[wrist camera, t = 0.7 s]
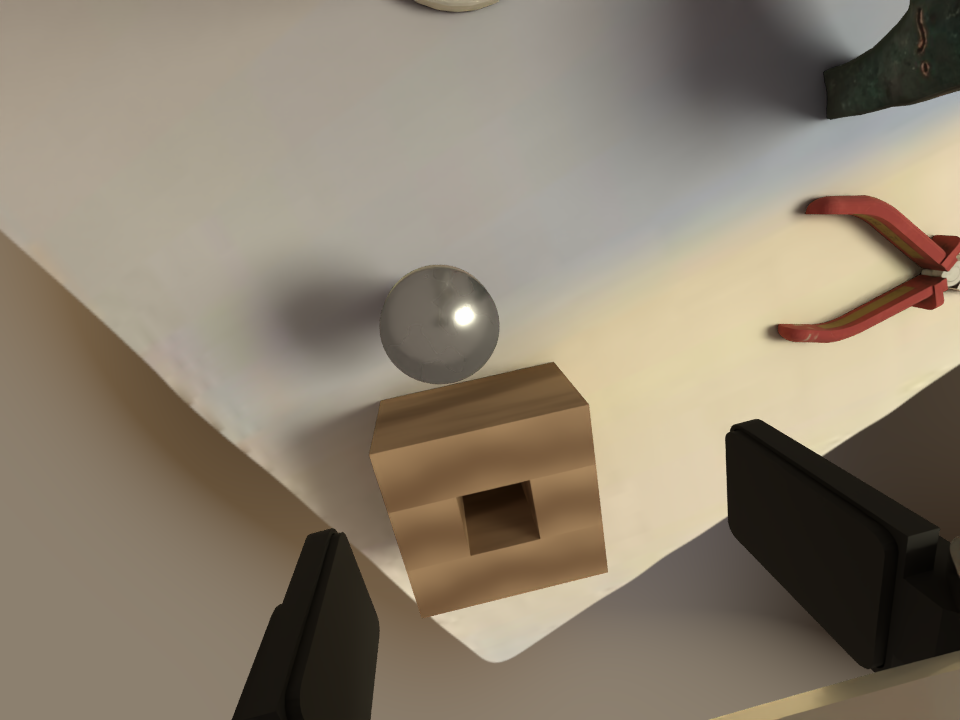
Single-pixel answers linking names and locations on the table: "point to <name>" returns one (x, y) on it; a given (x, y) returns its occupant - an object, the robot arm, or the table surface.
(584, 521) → the socket block
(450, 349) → the grey metal rounded piece
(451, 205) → the table surface
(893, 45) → the ceramic cat
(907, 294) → the pliers
